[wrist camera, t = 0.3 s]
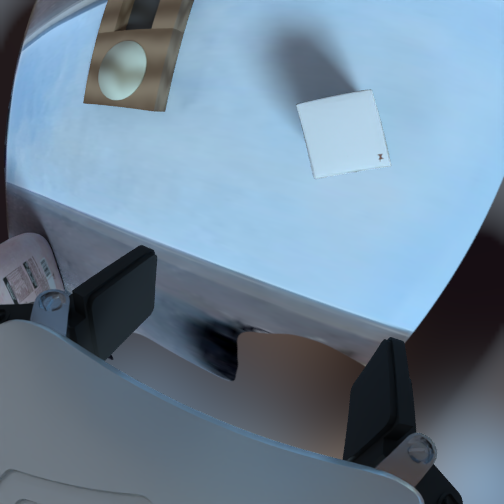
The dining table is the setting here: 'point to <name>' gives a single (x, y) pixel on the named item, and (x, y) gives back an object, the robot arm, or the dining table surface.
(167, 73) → the hole platform
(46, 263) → the packaged food
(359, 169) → the supplement box
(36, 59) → the dining table surface
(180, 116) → the dining table surface
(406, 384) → the robot arm
